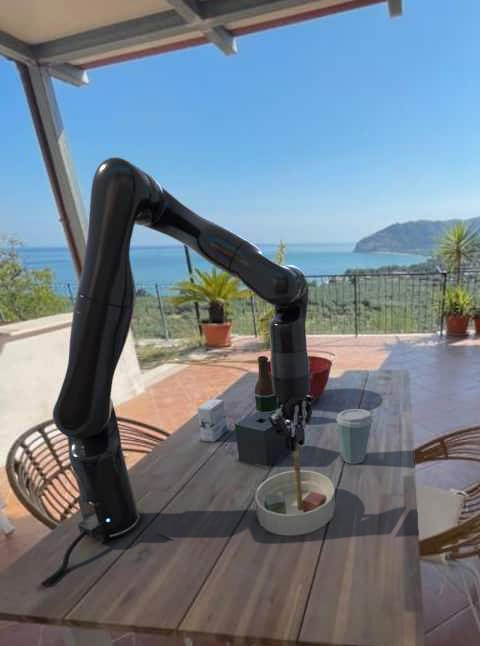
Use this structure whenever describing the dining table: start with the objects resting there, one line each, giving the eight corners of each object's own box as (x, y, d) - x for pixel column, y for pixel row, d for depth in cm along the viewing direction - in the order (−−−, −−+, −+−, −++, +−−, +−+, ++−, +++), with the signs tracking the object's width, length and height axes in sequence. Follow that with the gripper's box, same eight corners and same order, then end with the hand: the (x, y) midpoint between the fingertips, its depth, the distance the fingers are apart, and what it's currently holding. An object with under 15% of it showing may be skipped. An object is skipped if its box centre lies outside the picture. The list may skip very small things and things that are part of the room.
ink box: (215, 429, 135) (210, 398, 131) (228, 431, 134) (224, 399, 130) (201, 440, 127) (195, 407, 123) (215, 442, 126) (210, 409, 122)
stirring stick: (301, 513, 88) (295, 430, 81) (292, 510, 89) (285, 427, 82) (308, 507, 90) (302, 425, 83) (298, 504, 91) (292, 423, 84)
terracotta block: (318, 519, 89) (317, 504, 88) (303, 514, 91) (302, 500, 89) (326, 509, 92) (326, 495, 91) (312, 505, 94) (311, 491, 92)
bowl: (308, 548, 81) (306, 525, 79) (240, 523, 89) (237, 501, 87) (348, 501, 97) (347, 480, 95) (287, 483, 104) (286, 464, 102)
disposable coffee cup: (329, 458, 117) (328, 412, 111) (355, 446, 124) (354, 402, 118) (354, 471, 110) (354, 423, 104) (379, 458, 117) (380, 412, 111)
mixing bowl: (253, 410, 151) (249, 372, 146) (278, 386, 178) (275, 353, 172) (324, 414, 148) (323, 375, 142) (338, 389, 174) (338, 356, 168)
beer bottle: (253, 423, 140) (246, 358, 132) (264, 415, 147) (258, 353, 138) (272, 426, 138) (266, 360, 129) (282, 417, 145) (278, 355, 136)
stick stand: (267, 469, 111) (264, 431, 107) (239, 460, 115) (234, 424, 111) (289, 452, 120) (286, 417, 116) (262, 445, 124) (258, 411, 120)
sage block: (268, 519, 89) (267, 505, 87) (266, 509, 92) (264, 495, 91) (286, 515, 90) (285, 501, 89) (282, 505, 94) (281, 491, 92)
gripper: (294, 360, 85) (299, 431, 91) (252, 377, 73) (260, 458, 80) (324, 364, 82) (326, 437, 88) (284, 383, 70) (291, 466, 77)
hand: (295, 447), depth 84 cm, fingers closed on stirring stick, 2 cm apart
